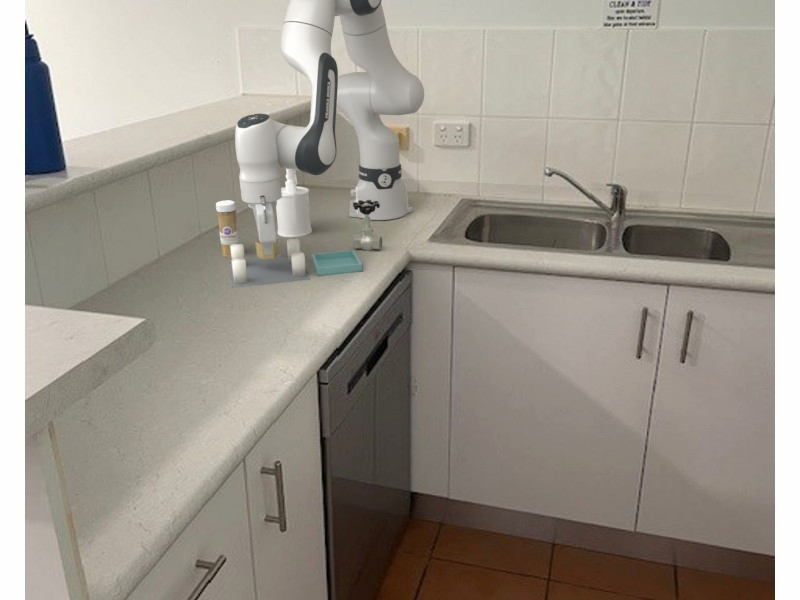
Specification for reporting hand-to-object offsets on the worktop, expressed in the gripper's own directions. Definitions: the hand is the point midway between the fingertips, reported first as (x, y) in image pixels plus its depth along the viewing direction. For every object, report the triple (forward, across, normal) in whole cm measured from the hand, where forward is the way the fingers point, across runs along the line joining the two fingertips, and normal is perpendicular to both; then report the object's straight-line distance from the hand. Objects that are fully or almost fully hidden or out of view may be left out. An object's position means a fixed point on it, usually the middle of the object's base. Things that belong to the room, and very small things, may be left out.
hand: (267, 249), depth 165 cm
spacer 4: (+5, -6, -6) cm, 10 cm away
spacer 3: (+5, +4, -6) cm, 9 cm away
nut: (+1, 0, 0) cm, 1 cm away
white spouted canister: (+6, +26, -9) cm, 28 cm away
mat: (+5, -1, 0) cm, 5 cm away
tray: (+5, -3, -15) cm, 16 cm away
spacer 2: (+5, -6, +7) cm, 10 cm away
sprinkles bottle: (+5, +13, +8) cm, 17 cm away
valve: (+6, +8, -25) cm, 26 cm away
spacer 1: (+5, +4, +7) cm, 9 cm away
